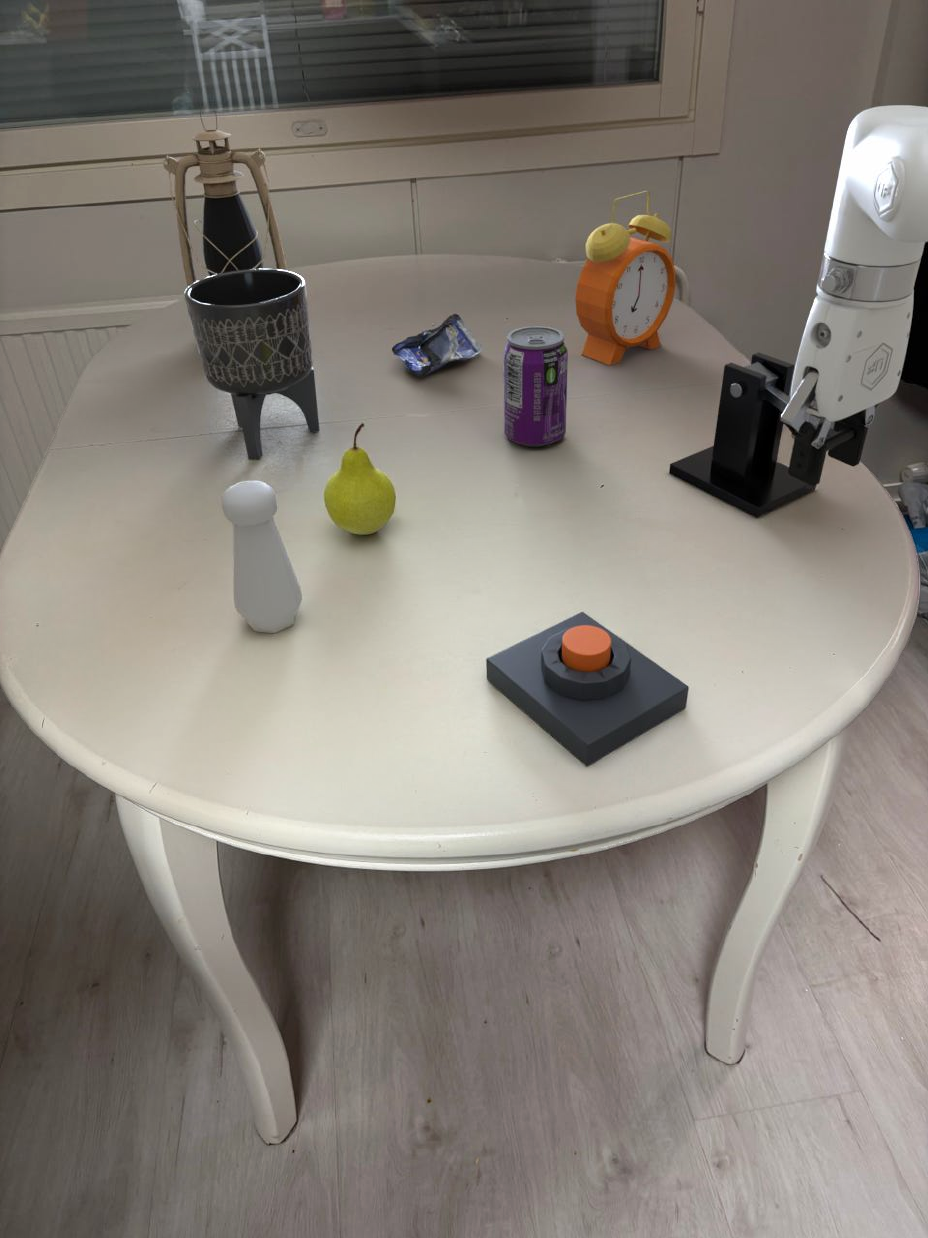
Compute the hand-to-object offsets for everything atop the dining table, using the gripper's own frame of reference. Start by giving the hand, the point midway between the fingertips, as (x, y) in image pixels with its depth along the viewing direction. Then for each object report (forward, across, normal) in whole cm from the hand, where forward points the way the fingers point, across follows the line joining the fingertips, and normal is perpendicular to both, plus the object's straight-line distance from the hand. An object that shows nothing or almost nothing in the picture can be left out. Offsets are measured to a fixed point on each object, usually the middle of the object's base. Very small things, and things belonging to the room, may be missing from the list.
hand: (823, 468), depth 88 cm
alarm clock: (+6, +16, +44) cm, 47 cm away
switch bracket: (+5, 0, +9) cm, 11 cm away
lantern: (+6, -21, +86) cm, 89 cm away
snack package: (+6, -6, +57) cm, 58 cm away
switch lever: (-3, 0, +5) cm, 6 cm away
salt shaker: (+6, -50, +18) cm, 53 cm away
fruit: (+6, -36, +26) cm, 45 cm away
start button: (+2, -35, -6) cm, 35 cm away
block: (+5, -35, -6) cm, 36 cm away
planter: (+6, -34, +51) cm, 62 cm away
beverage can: (+6, -10, +31) cm, 33 cm away
